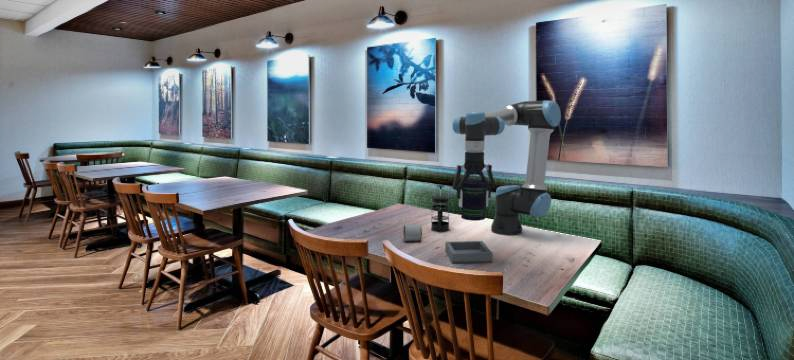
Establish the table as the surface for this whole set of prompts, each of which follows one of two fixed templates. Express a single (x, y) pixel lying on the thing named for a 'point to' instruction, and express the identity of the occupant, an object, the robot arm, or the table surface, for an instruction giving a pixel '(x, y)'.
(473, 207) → the storage jar
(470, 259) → the tray
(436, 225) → the french press
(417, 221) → the table surface
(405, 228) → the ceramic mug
